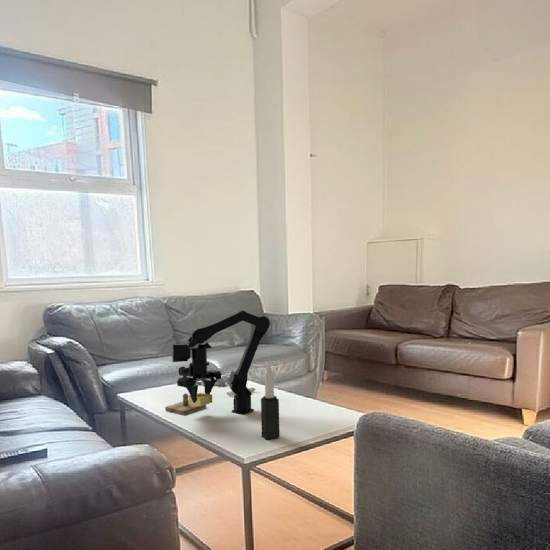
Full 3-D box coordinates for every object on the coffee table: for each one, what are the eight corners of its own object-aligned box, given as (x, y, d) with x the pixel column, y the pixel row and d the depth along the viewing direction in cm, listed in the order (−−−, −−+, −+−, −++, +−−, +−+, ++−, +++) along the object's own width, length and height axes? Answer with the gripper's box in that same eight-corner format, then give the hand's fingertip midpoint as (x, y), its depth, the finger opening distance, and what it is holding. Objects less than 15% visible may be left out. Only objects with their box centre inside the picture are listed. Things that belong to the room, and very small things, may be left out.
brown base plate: (206, 407, 198) (205, 392, 198) (184, 415, 188) (183, 398, 188) (187, 403, 205) (187, 388, 205) (165, 410, 195) (165, 394, 195)
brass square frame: (212, 402, 188) (212, 394, 187) (200, 406, 182) (200, 398, 182) (200, 400, 191) (200, 392, 191) (188, 403, 186) (188, 396, 186)
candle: (260, 435, 163) (258, 362, 162) (274, 433, 165) (272, 360, 165) (266, 440, 158) (264, 364, 158) (280, 437, 160) (278, 363, 160)
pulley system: (246, 384, 241) (232, 377, 253) (246, 374, 241) (231, 368, 253) (196, 395, 226) (183, 387, 238) (196, 385, 225) (183, 378, 238)
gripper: (202, 354, 199) (203, 392, 199) (166, 362, 184) (168, 403, 184) (221, 357, 192) (222, 396, 192) (186, 365, 177) (188, 407, 178)
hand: (200, 400), depth 187 cm, fingers closed on brass square frame, 6 cm apart
